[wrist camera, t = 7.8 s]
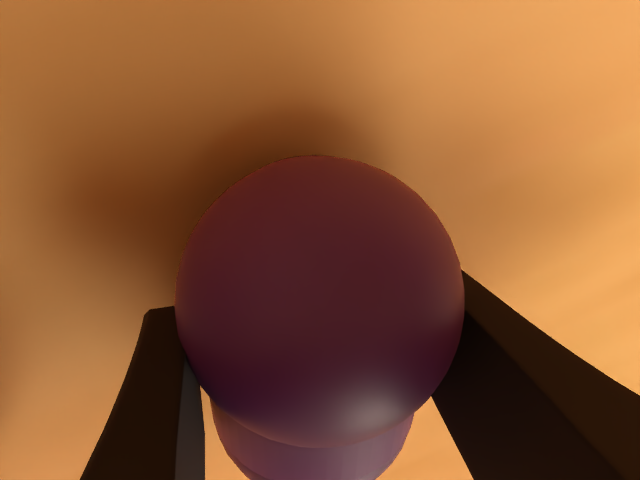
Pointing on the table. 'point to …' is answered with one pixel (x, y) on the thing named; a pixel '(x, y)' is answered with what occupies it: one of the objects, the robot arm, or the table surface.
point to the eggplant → (318, 316)
